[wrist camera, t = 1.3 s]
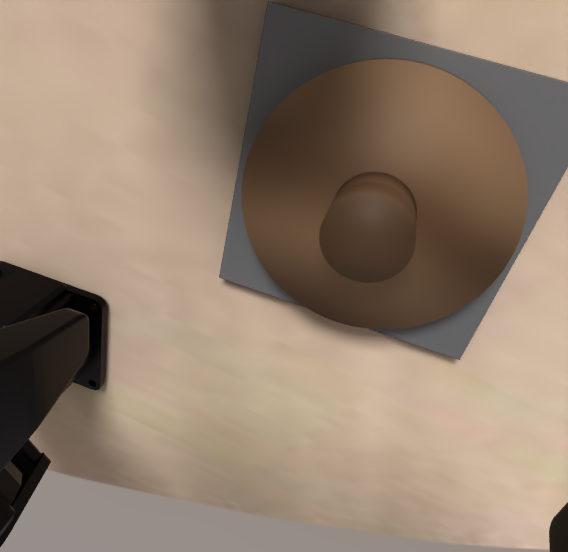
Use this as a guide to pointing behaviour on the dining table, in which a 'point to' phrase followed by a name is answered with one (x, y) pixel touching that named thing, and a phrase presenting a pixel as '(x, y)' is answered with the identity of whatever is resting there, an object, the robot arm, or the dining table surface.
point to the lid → (384, 194)
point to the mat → (375, 44)
